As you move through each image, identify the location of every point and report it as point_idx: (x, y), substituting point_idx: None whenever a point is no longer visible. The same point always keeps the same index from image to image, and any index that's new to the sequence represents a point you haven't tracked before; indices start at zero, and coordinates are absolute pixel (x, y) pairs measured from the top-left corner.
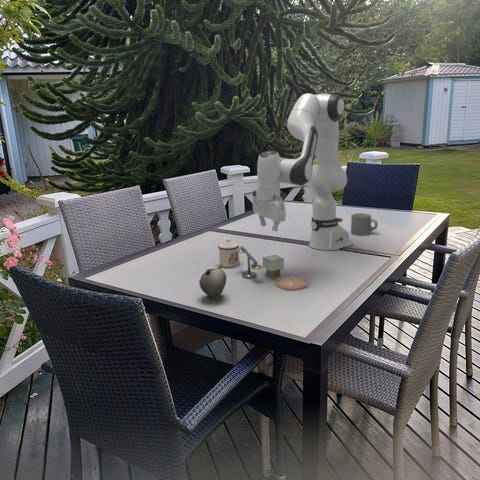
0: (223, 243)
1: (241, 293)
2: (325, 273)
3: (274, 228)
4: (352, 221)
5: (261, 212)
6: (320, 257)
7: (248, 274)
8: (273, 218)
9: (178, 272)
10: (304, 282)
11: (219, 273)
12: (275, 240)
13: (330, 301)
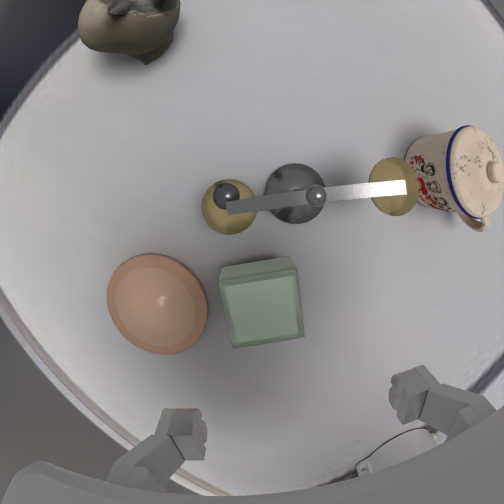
0: (485, 146)
1: (141, 119)
2: (216, 415)
3: (160, 428)
4: None
5: (439, 487)
6: (338, 438)
7: (292, 188)
8: (79, 493)
9: (400, 15)
10: (136, 338)
11: (82, 18)
12: (493, 364)
13: (47, 332)
